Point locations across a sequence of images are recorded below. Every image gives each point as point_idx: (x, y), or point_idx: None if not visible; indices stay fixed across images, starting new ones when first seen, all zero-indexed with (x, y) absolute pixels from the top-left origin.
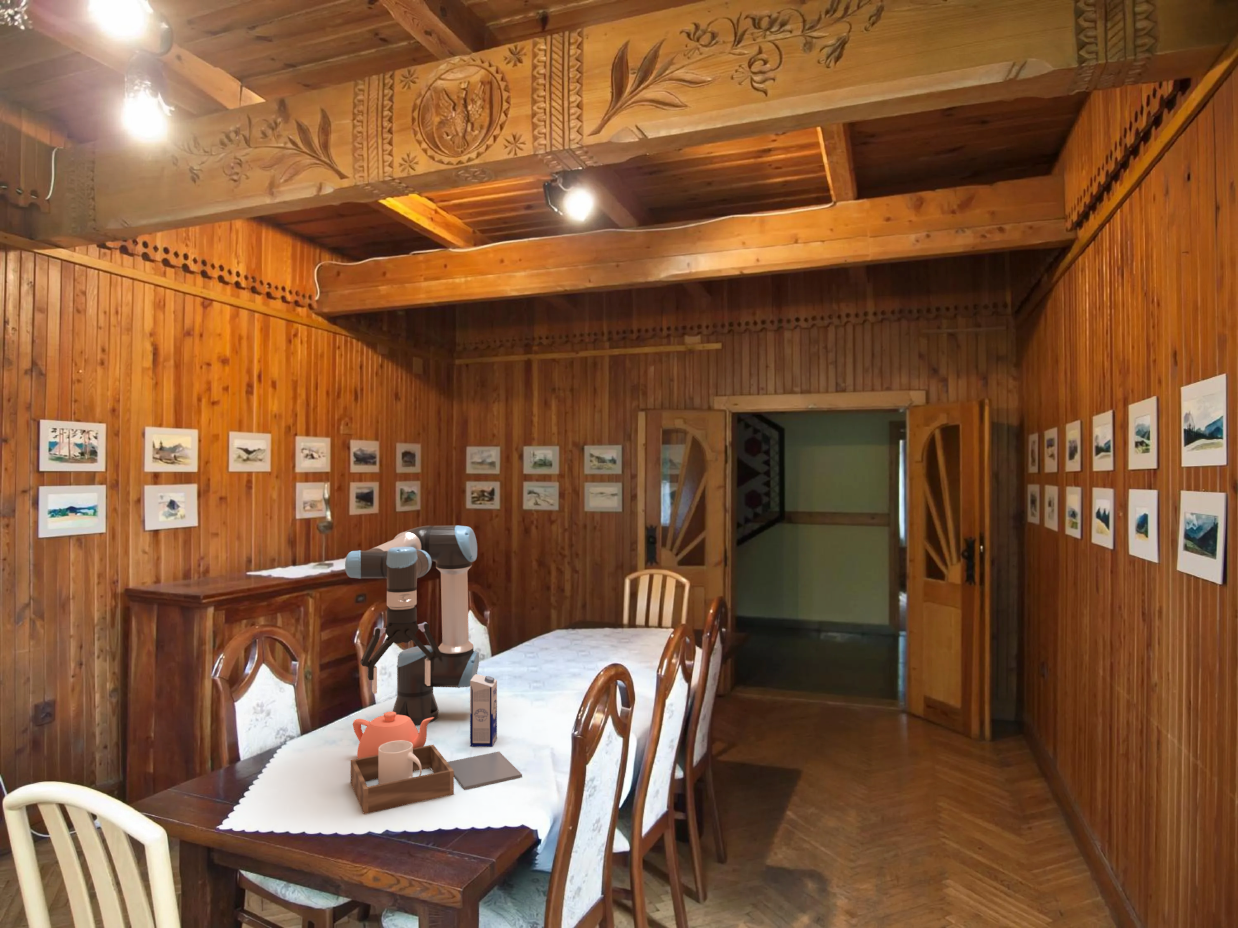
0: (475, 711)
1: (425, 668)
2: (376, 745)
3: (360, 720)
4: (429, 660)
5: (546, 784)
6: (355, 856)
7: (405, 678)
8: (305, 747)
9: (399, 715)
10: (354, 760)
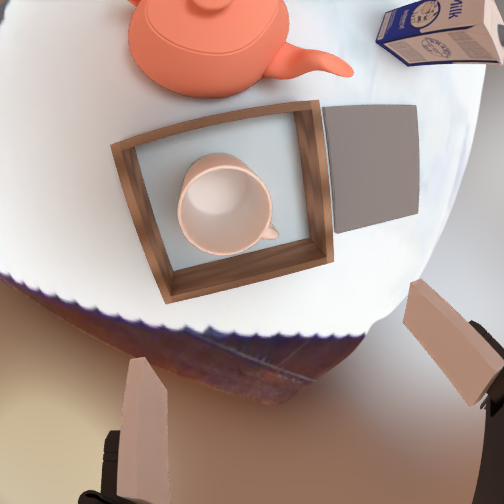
0: (432, 38)
1: (457, 343)
2: (170, 77)
3: None
4: (484, 393)
5: (426, 244)
6: (179, 368)
7: None
8: None
9: None
10: (119, 149)
